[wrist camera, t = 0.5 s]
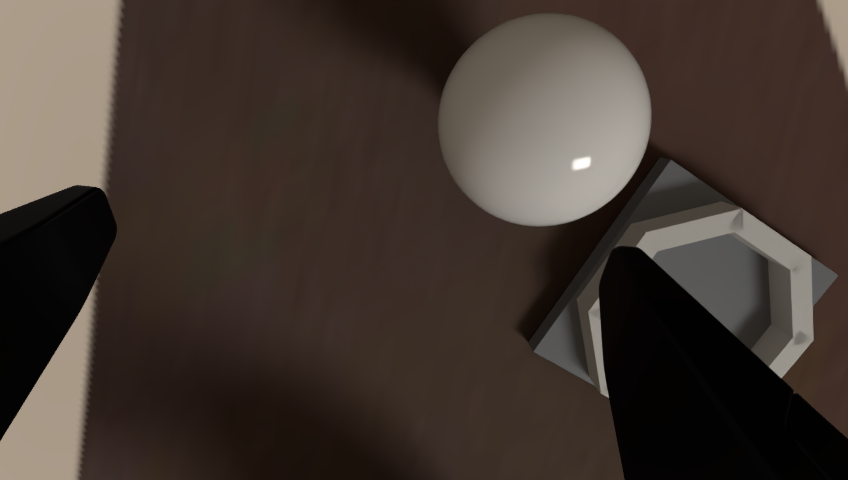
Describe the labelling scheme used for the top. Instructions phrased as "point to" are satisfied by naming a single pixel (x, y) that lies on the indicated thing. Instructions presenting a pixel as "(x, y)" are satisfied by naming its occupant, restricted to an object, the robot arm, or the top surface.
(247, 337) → the top surface
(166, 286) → the top surface
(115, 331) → the top surface
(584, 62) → the lightbulb
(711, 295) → the bulb stand
